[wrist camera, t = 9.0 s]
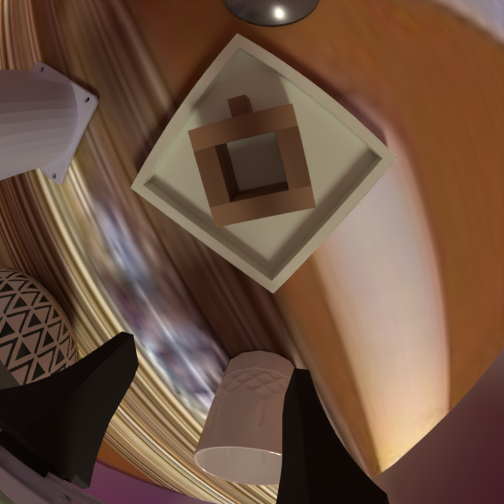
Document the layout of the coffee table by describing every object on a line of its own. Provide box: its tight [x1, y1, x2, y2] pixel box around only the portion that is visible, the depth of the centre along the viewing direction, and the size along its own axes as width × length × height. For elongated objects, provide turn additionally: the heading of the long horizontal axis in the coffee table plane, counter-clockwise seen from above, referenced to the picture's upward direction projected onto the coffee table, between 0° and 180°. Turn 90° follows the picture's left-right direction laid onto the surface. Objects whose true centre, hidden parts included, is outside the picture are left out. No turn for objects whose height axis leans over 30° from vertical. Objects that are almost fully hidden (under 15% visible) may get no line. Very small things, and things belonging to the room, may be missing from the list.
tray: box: [131, 33, 397, 293], centre depth 17 cm, size 12×12×2 cm
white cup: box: [193, 351, 295, 485], centre depth 21 cm, size 8×8×10 cm
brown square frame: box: [188, 95, 316, 228], centre depth 16 cm, size 6×7×3 cm
